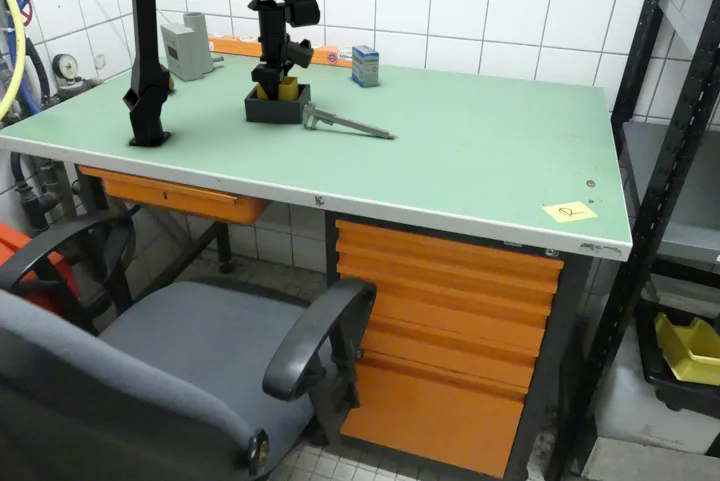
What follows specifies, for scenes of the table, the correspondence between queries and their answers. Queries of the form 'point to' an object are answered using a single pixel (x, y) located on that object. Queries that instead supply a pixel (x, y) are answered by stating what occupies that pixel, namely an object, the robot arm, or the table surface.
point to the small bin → (283, 89)
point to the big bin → (277, 107)
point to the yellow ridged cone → (171, 83)
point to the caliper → (339, 121)
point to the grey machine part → (188, 47)
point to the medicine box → (365, 65)
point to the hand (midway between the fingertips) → (278, 100)
